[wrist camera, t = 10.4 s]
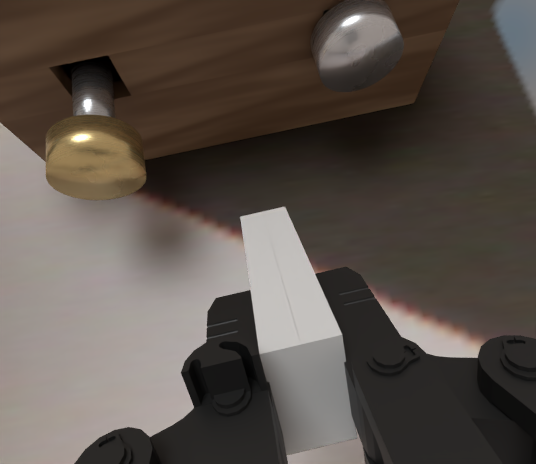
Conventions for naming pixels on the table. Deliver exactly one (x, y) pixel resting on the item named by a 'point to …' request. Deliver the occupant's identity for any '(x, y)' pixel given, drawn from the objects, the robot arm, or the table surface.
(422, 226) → the table surface
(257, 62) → the console
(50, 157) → the brass knob
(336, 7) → the steel knob
